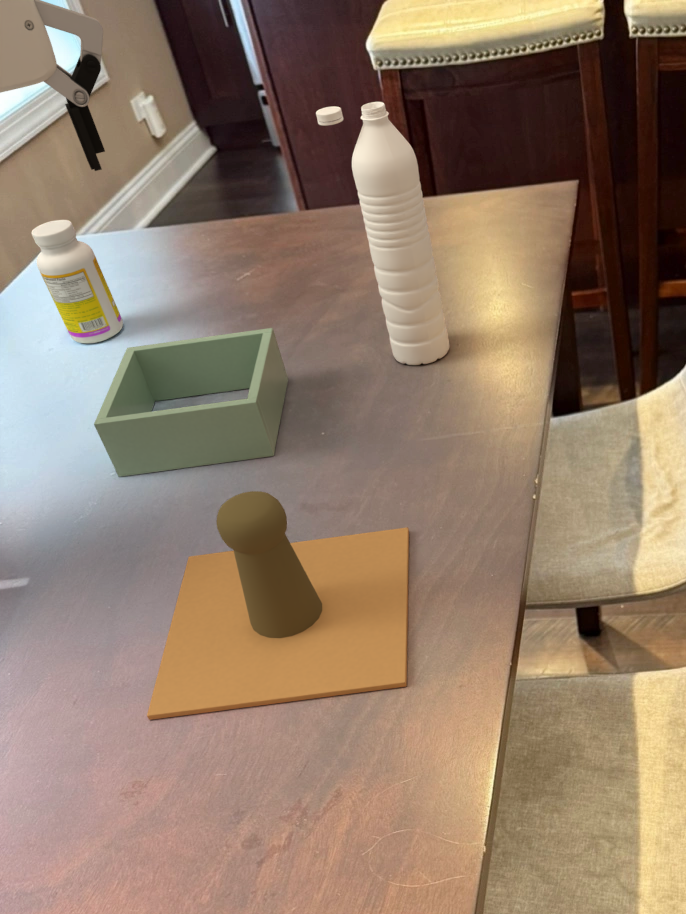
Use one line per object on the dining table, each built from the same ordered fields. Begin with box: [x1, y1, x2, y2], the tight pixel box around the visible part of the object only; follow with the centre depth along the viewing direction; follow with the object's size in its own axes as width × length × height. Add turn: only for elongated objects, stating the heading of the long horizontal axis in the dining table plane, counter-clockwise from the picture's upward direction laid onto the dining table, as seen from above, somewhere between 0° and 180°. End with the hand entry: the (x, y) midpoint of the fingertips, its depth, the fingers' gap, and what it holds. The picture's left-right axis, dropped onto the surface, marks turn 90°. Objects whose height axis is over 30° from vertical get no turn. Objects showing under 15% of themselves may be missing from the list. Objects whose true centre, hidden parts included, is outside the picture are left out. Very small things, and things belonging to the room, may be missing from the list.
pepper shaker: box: [216, 490, 322, 638], centre depth 79 cm, size 6×6×11 cm
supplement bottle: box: [31, 219, 124, 344], centre depth 122 cm, size 7×7×13 cm
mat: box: [146, 526, 410, 721], centre depth 84 cm, size 20×20×1 cm
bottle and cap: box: [315, 101, 450, 366], centre depth 105 cm, size 9×6×25 cm
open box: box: [93, 327, 289, 478], centre depth 105 cm, size 16×16×6 cm
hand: (28, 182), depth 73 cm, fingers open, 9 cm apart
